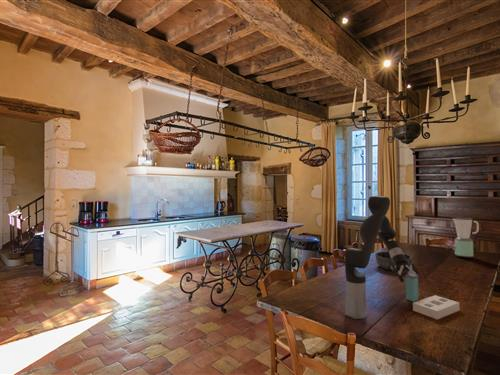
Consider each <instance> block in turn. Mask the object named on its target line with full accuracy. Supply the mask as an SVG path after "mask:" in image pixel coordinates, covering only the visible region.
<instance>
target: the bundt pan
mask: <svg viewBox="0 0 500 375" xmlns="http://www.w3.org/2000/svg"><path fill="white" fill-rule="evenodd" d="M404 255H405V257H406V259H407V262H408V264H409V265H412V260H413V257H412V255H410V254H408V253H404ZM374 256H375V259H376V263H377V265H378V266H379V267H380V268H382V269H385V270H390V271H392V270H391V266H392V265H394V263H393V261H392V258H391V256H390V253H389V251H377V252H375V253H374ZM394 266H395V265H394ZM396 271H397V272H398V270H397V269H396Z"/></svg>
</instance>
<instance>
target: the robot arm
mask: <svg viewBox="0 0 500 375" xmlns="http://www.w3.org/2000/svg"><path fill="white" fill-rule="evenodd" d="M367 202H368V203H367V207H368V210H369V211H370V213H371V214H370V216H368V217H366V218H365V219H364V220H363V222H362V223H361V226H360V227H359V235H360V238H361V240H362V243H363V247H362V248H355V247H354V248H353V247H347V249H345V252H344V270H345V273H344V274H345V277H346V278H345V279H346V282H345V285H346V287H345V288H346V295H345V296H344V299H345V300H344V301H345V302H344V303H345V304H344V305H345V307H344V308H345V309H344V310H345V311H344V312H345V316H347V317H350V318H352V319H354V320H358V319H359V320H360V319H365V318H366V317H367V280H366V279H367V278H366V275H365V274H364V273H362V272H360V271H359V270H357V268H358V269H366V268H367V267H368V265H369V263H370V259H371V255H372V252H373V249H374V248H373V247H374V244H375V242H376V239H377V237H378V238H379V239H380V241H381V242H382V243H383V244H384V245H385V247H386V249H387V252H389V253H390V256H391V258H392V261H393V263H394V265H395V266H394V265H392V266H391V270H390V271H391V272H392V275H393V277H397V278H398V280H399V282H400V283H404V282H405V280H404V278H403V275H402V274H404V273H406V274H409V273H412V274H415V275H418V274H419V270H418V269H417V267H416V265H415V264H414V263H411V265H409V264H408V262H407V259H406V257H405V255H404V254H405V253H404V252H403V250H402V248H401V246H400V244H399V243H398V241H396V240H394V239H395V238H396V237H397V232H396V231H395V229H394V228H393V227H392V225H391V221H390V220H389V218H388V217H387V216H386V215H387V214H388V211H389V209H390V206H391V200H390V197H388V196H382V195H371V196H369V198H368V201H367ZM396 269H397V271H396ZM418 281H419V278H418Z"/></svg>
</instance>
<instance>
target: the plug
mask: <svg viewBox="0 0 500 375" xmlns="http://www.w3.org/2000/svg"><path fill="white" fill-rule="evenodd" d="M418 279H419V275H418V274H417V275H415V274H412V273H406V274H405V299H406V300H408V301H411V302H412V303H414V302H417V301H419V280H418Z"/></svg>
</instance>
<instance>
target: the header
mask: <svg viewBox="0 0 500 375" xmlns="http://www.w3.org/2000/svg"><path fill="white" fill-rule="evenodd" d="M413 311H414V312H416V313H419V314H422V315H424V316H427V317H430V318H432V319H434V320H440V319H442V318H444V317H447V316H449V315H451V314H454V313H458V312H459V311H460V302H458V301H455V300H451V299H449V298H445V297H443V296H439V295H436V294H434V295H432V296H429V297H425V298H422V299H420V300H417V301H414V302H412V312H413Z"/></svg>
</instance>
